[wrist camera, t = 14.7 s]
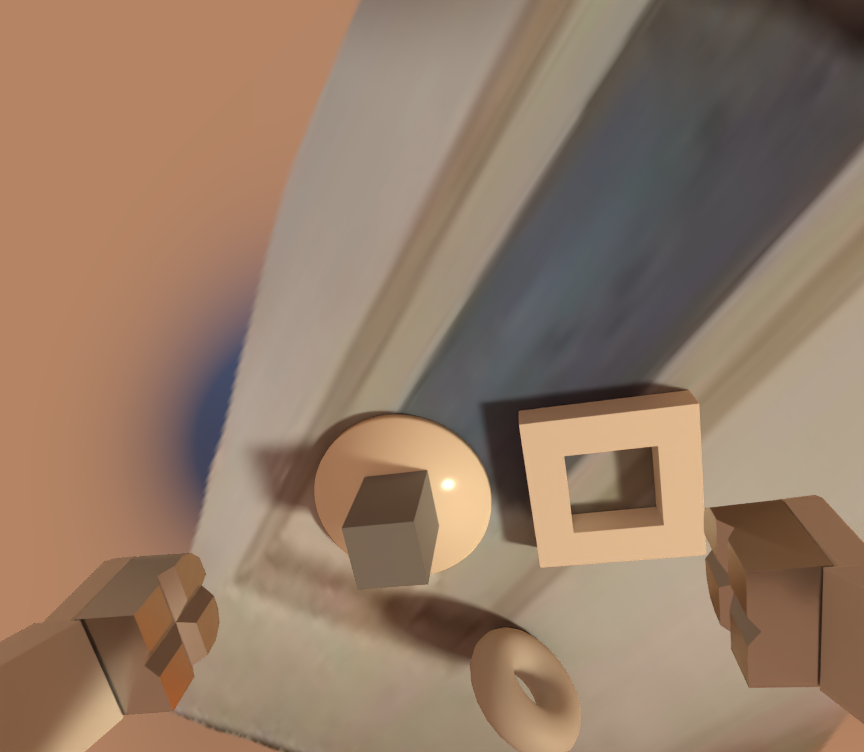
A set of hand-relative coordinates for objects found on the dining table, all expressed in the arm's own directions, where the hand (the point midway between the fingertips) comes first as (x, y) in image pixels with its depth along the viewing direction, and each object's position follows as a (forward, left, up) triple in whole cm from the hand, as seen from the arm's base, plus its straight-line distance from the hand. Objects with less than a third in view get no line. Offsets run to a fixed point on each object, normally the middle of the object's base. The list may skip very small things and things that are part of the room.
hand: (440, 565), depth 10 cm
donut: (+2, +33, -34) cm, 48 cm away
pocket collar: (-6, +18, -34) cm, 39 cm away
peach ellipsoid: (+10, +18, -34) cm, 40 cm away
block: (+10, +18, -33) cm, 39 cm away
